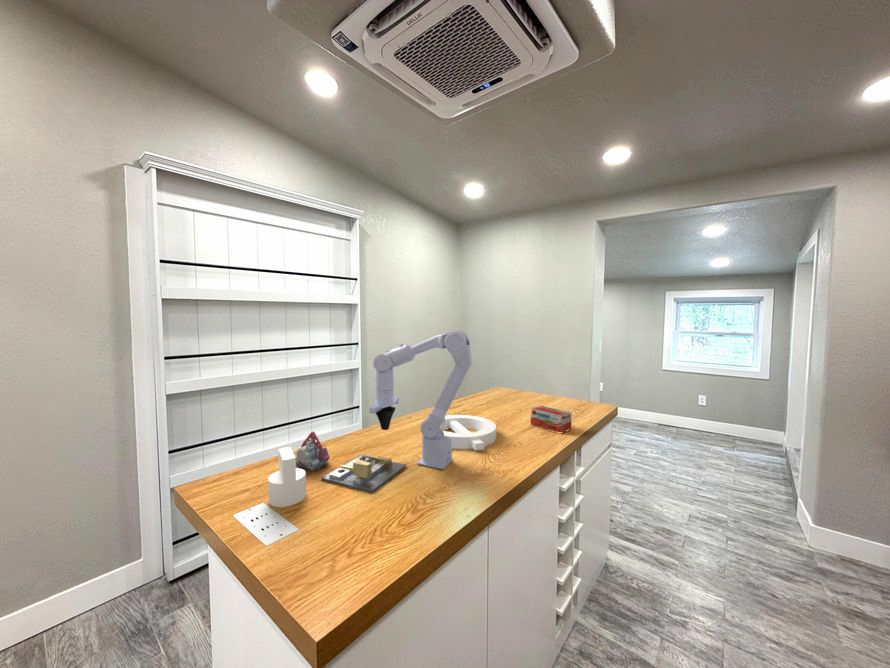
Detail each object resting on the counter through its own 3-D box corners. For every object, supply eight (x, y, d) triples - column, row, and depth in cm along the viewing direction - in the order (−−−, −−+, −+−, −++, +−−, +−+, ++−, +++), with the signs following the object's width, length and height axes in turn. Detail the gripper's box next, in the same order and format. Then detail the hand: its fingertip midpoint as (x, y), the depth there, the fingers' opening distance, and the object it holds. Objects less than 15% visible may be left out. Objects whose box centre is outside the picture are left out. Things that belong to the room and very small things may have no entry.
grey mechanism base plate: (406, 467, 110) (406, 457, 110) (372, 493, 94) (372, 481, 93) (360, 457, 117) (360, 448, 117) (321, 480, 101) (321, 469, 101)
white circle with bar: (444, 422, 158) (444, 411, 157) (504, 431, 145) (504, 420, 145) (412, 442, 133) (412, 430, 132) (481, 455, 120) (481, 441, 120)
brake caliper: (341, 454, 114) (323, 432, 107) (320, 485, 107) (299, 463, 100) (318, 447, 120) (299, 426, 113) (296, 476, 113) (275, 455, 106)
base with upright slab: (309, 500, 90) (308, 455, 89) (270, 510, 85) (269, 463, 85) (302, 486, 98) (301, 444, 97) (267, 494, 93) (265, 451, 92)
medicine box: (571, 430, 146) (571, 411, 146) (561, 434, 141) (561, 415, 140) (540, 422, 157) (540, 404, 157) (529, 426, 152) (530, 408, 151)
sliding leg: (371, 475, 99) (371, 462, 99) (367, 478, 97) (367, 465, 97) (342, 468, 103) (342, 456, 103) (338, 471, 102) (338, 459, 101)
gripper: (386, 384, 124) (387, 421, 125) (361, 392, 111) (361, 434, 111) (403, 385, 121) (404, 424, 122) (379, 394, 108) (380, 437, 108)
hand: (385, 429), depth 116 cm, fingers closed
